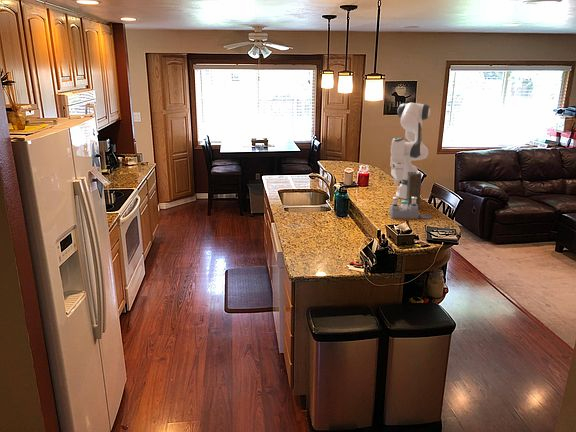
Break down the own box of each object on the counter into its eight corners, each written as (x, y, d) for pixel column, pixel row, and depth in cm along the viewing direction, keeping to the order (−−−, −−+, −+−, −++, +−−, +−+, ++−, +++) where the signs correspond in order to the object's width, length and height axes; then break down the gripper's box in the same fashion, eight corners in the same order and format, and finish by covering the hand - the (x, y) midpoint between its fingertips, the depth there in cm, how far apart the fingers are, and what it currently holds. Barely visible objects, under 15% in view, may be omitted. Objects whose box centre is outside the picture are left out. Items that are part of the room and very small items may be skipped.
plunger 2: (410, 205, 300) (410, 196, 299) (415, 205, 300) (416, 196, 299) (411, 206, 297) (412, 197, 295) (417, 206, 297) (417, 197, 295)
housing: (389, 214, 306) (389, 203, 304) (415, 213, 305) (415, 202, 303) (392, 218, 296) (392, 207, 294) (418, 218, 296) (419, 207, 294)
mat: (417, 215, 302) (417, 214, 301) (429, 215, 301) (429, 214, 301) (420, 219, 294) (420, 218, 294) (432, 219, 294) (432, 218, 294)
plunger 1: (391, 205, 301) (392, 196, 299) (397, 205, 301) (397, 196, 299) (392, 206, 297) (393, 198, 296) (398, 206, 297) (398, 198, 296)
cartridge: (399, 215, 303) (400, 200, 300) (406, 215, 303) (407, 200, 300) (400, 217, 299) (401, 202, 296) (408, 217, 299) (408, 202, 296)
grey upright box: (420, 210, 313) (422, 174, 306) (407, 210, 314) (409, 174, 307) (417, 203, 331) (419, 169, 324) (405, 202, 332) (407, 168, 325)
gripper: (389, 160, 301) (388, 181, 305) (395, 166, 281) (394, 188, 285) (398, 160, 301) (397, 181, 305) (405, 166, 281) (404, 188, 285)
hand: (396, 184), depth 295 cm, fingers closed
